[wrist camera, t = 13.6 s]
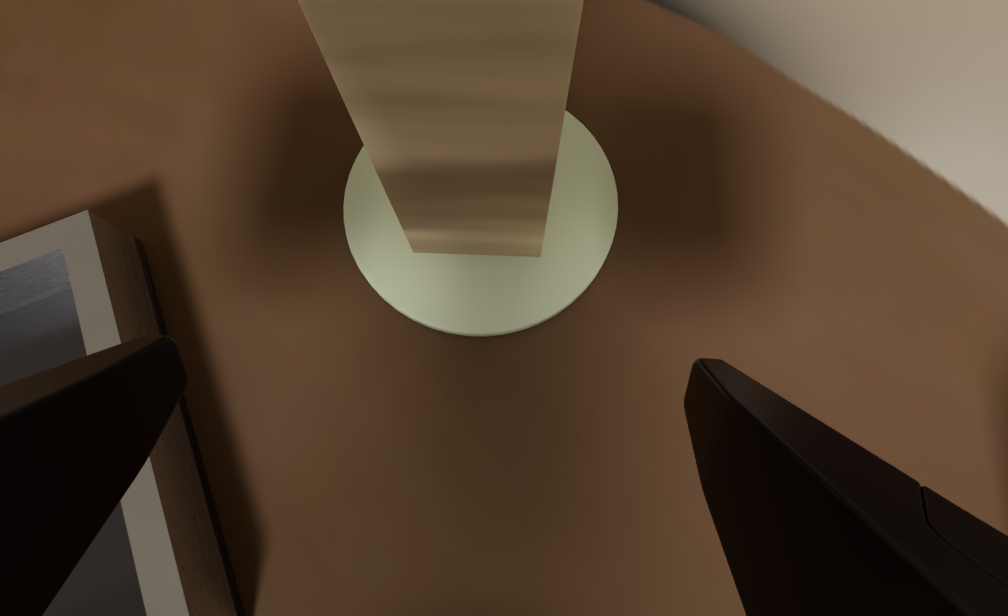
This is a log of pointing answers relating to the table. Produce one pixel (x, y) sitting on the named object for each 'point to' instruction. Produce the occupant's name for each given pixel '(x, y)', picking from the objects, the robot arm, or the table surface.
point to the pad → (489, 278)
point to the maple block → (456, 110)
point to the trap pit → (173, 461)
